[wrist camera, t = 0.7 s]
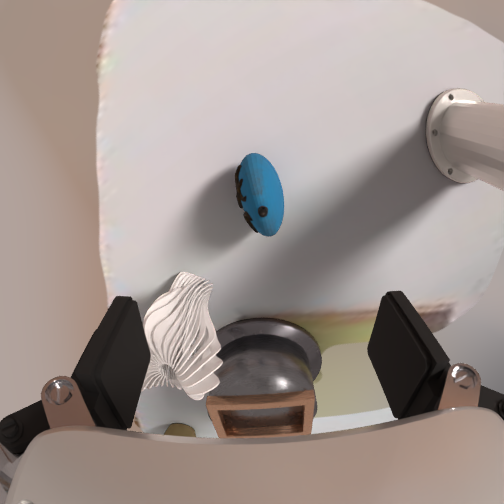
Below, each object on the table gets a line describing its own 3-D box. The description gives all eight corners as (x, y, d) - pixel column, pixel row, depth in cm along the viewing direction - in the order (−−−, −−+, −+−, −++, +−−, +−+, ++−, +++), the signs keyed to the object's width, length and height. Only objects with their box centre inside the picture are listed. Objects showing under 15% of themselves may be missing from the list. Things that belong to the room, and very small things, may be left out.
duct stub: (323, 311, 41) (341, 372, 31) (317, 391, 49) (326, 444, 39) (189, 321, 42) (174, 383, 32) (213, 398, 50) (207, 451, 40)
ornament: (229, 154, 32) (219, 172, 23) (270, 144, 31) (278, 158, 22) (248, 223, 35) (246, 264, 26) (286, 214, 35) (298, 253, 26)
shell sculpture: (157, 301, 40) (116, 404, 24) (173, 252, 37) (125, 356, 21) (212, 321, 42) (195, 431, 26) (234, 276, 38) (224, 391, 22)
